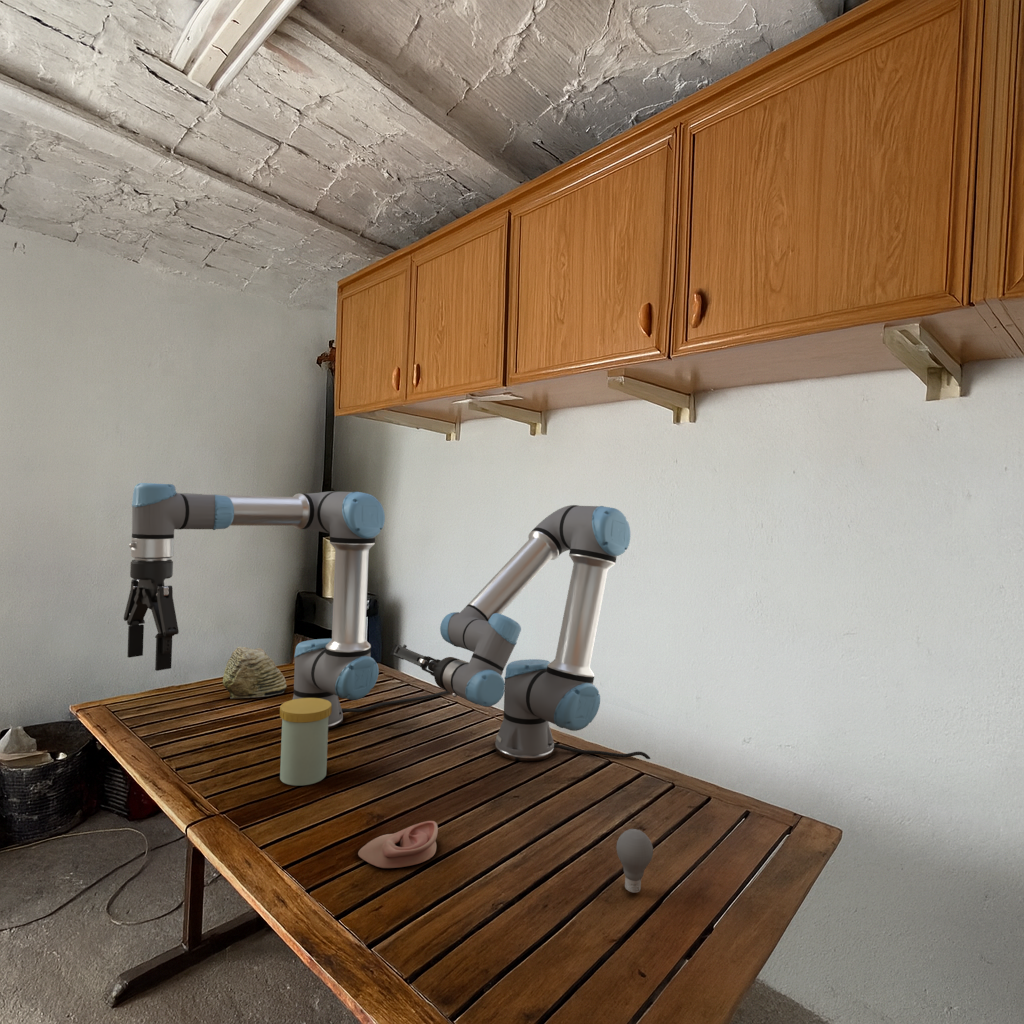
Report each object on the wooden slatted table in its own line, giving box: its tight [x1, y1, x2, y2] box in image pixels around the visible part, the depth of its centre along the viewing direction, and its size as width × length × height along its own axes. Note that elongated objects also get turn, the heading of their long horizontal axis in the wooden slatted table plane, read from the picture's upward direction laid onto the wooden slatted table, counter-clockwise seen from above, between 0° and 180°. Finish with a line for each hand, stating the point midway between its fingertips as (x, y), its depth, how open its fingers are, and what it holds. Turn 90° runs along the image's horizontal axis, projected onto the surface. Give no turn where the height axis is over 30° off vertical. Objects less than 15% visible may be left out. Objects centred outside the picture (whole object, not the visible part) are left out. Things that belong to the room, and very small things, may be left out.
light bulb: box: [615, 828, 654, 894], centre depth 106 cm, size 6×6×10 cm
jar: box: [279, 716, 329, 787], centre depth 143 cm, size 10×10×16 cm
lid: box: [278, 698, 332, 723], centre depth 143 cm, size 11×11×2 cm
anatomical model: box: [357, 820, 439, 869], centre depth 114 cm, size 13×4×12 cm
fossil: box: [222, 646, 288, 699], centre depth 198 cm, size 9×18×15 cm, turn 132°
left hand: (148, 662), depth 129 cm, fingers open, 13 cm apart
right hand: (415, 659), depth 162 cm, fingers open, 13 cm apart
